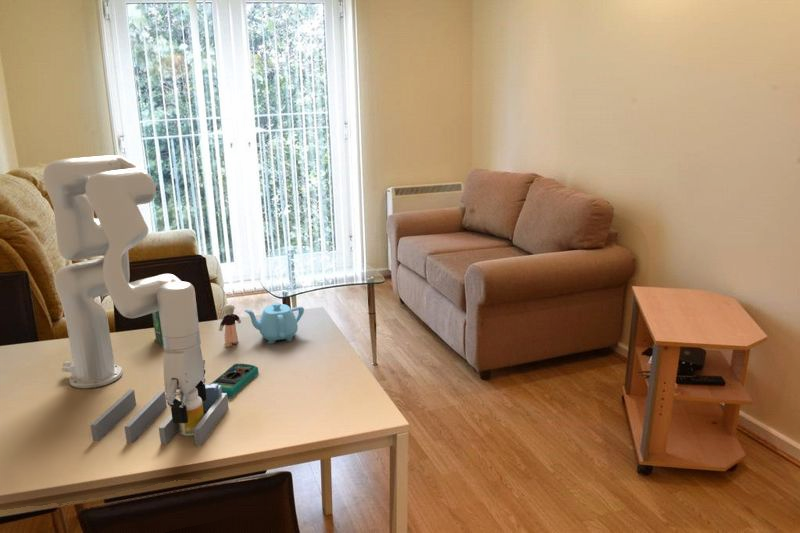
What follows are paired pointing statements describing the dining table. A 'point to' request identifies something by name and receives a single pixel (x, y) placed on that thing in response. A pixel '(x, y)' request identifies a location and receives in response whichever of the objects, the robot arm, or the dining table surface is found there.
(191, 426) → the supplement bottle
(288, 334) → the teapot
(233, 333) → the grandmother figurine
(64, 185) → the robot arm
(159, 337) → the coffee box
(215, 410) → the grey parallel walls
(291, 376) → the dining table surface
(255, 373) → the digital multimeter
